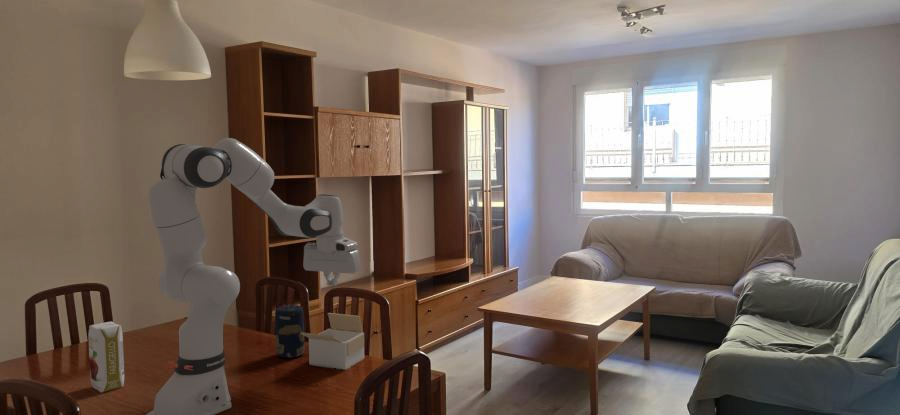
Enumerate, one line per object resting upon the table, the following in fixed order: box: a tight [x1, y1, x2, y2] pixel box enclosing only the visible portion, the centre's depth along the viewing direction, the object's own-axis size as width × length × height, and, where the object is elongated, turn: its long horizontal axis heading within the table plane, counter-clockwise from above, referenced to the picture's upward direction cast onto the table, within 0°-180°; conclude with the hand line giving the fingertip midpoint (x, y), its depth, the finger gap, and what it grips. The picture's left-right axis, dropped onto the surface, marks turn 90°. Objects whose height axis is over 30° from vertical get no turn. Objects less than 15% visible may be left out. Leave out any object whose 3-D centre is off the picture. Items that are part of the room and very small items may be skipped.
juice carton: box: [87, 321, 125, 393], centre depth 173 cm, size 8×9×19 cm
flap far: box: [327, 312, 363, 333], centre depth 200 cm, size 6×12×1 cm
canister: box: [274, 304, 306, 359], centre depth 202 cm, size 10×10×18 cm
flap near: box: [300, 332, 343, 343], centre depth 186 cm, size 6×12×1 cm
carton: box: [308, 328, 365, 371], centre depth 195 cm, size 12×15×9 cm
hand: (332, 285), depth 191 cm, fingers closed
